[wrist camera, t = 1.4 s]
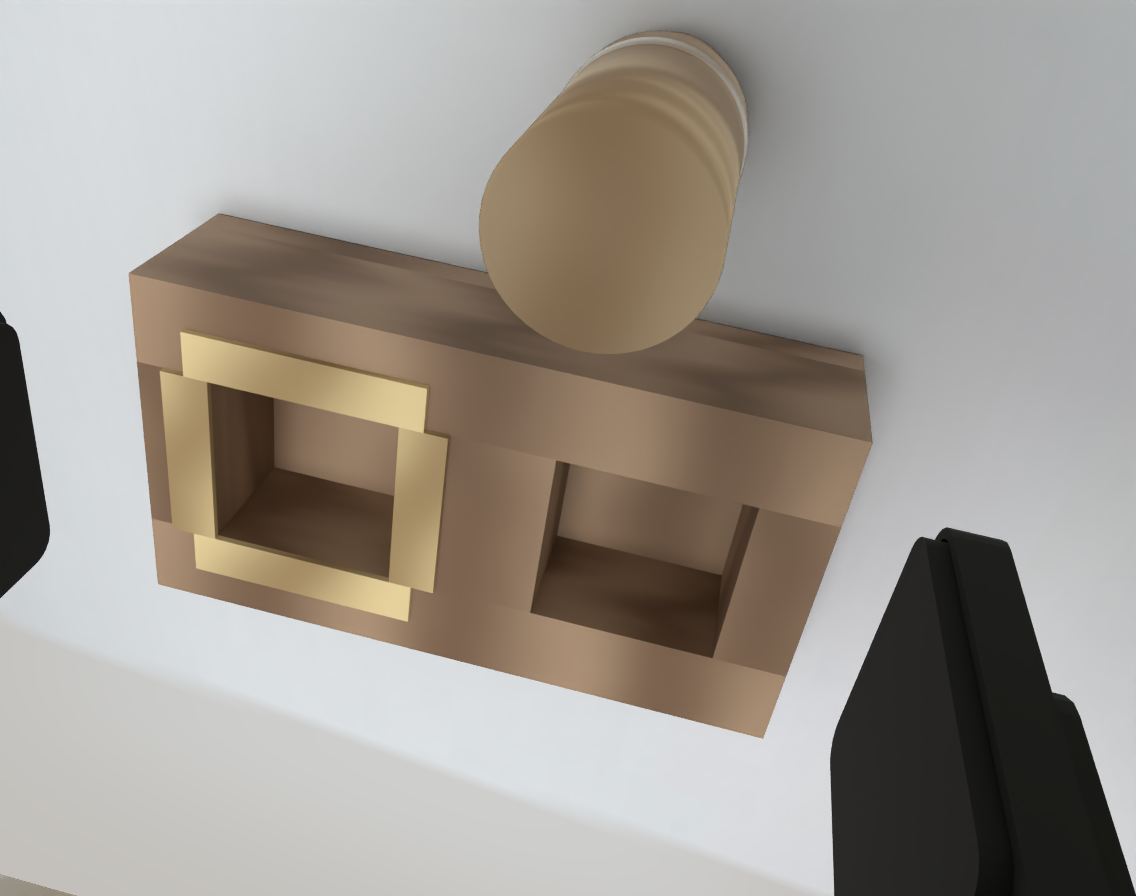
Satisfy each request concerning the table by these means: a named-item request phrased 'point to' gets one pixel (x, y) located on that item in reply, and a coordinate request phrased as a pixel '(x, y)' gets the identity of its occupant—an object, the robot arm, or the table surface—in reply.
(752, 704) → the board
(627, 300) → the peg
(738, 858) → the table surface
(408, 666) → the table surface
